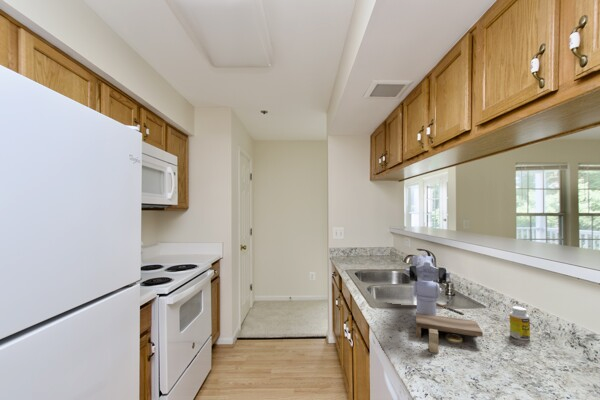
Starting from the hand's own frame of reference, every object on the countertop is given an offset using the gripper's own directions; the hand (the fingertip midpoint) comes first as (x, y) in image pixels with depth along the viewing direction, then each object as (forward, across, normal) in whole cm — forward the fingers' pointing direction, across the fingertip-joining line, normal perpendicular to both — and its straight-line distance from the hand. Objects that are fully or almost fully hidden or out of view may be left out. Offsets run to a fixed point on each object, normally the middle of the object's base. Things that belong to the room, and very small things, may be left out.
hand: (428, 279), depth 93 cm
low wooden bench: (-7, +6, +22) cm, 23 cm away
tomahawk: (-41, +8, +24) cm, 48 cm away
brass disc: (-5, +8, +22) cm, 24 cm away
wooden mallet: (+1, +1, +21) cm, 21 cm away
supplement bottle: (-16, +30, +22) cm, 40 cm away
